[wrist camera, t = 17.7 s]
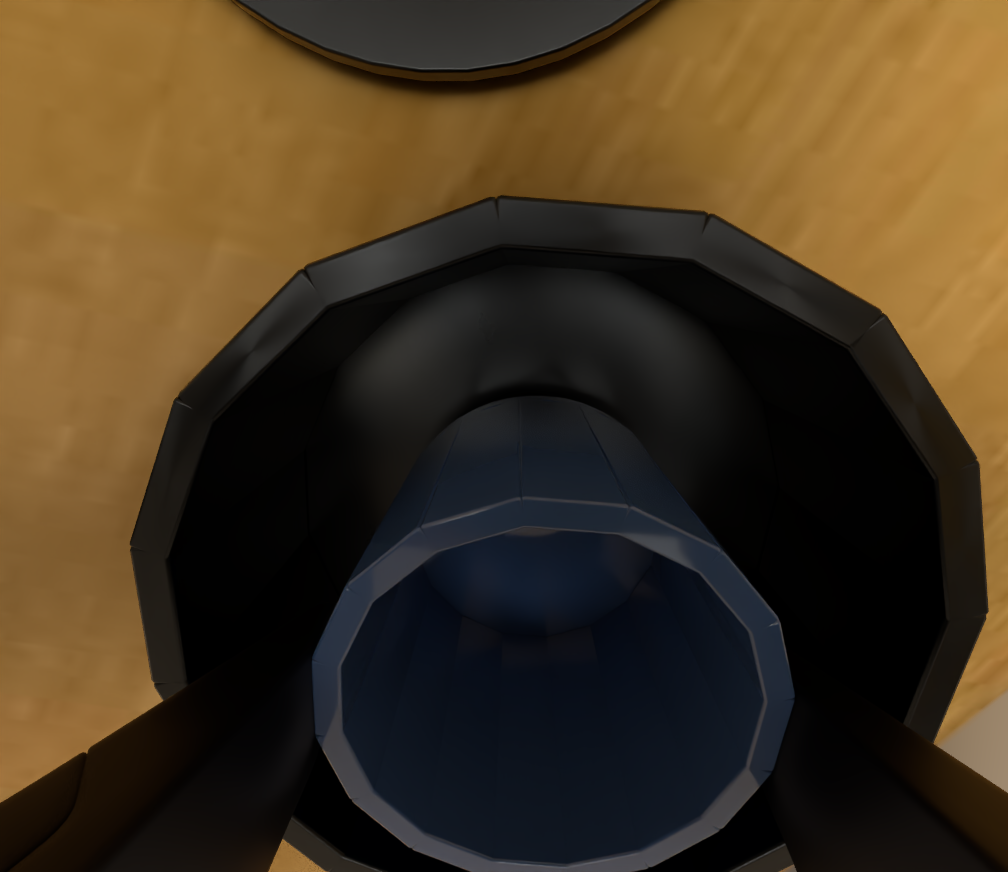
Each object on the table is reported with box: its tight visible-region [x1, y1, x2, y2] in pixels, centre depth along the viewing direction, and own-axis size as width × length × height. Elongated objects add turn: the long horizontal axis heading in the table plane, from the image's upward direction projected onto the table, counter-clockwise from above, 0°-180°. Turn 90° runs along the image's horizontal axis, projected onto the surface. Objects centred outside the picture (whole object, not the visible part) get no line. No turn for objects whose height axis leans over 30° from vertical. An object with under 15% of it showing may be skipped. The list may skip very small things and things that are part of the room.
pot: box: [130, 195, 988, 872], centre depth 10 cm, size 13×13×6 cm
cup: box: [312, 396, 795, 872], centre depth 9 cm, size 6×6×6 cm
